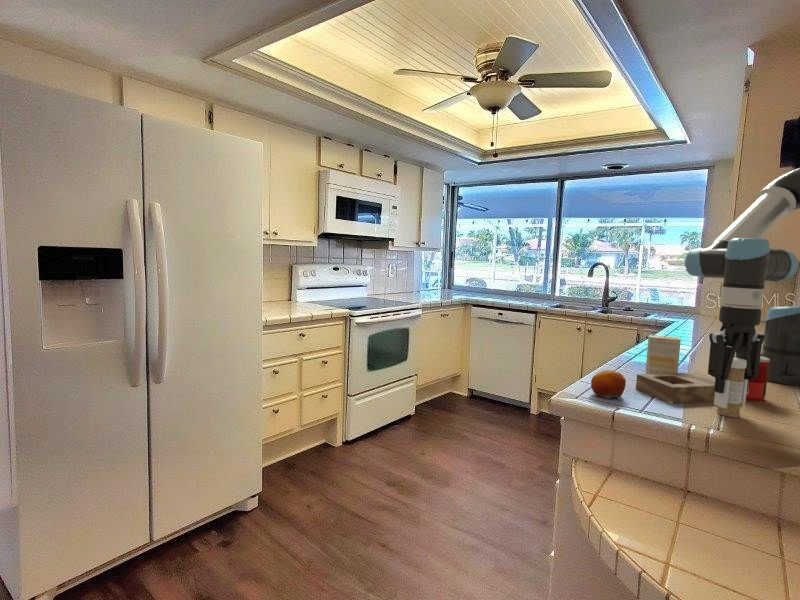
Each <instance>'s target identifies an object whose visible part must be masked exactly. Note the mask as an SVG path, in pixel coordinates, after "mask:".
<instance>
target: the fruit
mask: <svg viewBox="0 0 800 600" xmlns="http://www.w3.org/2000/svg"><path fill="white" fill-rule="evenodd" d="M626 382H627V380H626V378H625V377H624V375H623V374H622V373H620V372H619V371H616V370H610V369H609V370H608V369H607V370H603V371H599V372H597V373H595V374H594V375H593V376H592V378H591V380H590V383H591V385H590V388H591V389H592V392H593V393H594V394H595V395H596V396H597V397H599V398H605V399H608V400H610V399H611V398H620V399H621V400H622V401H624V398H623V397H622V395H623V393H624V391H625V389H626Z"/></svg>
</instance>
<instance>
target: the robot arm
mask: <svg viewBox="0 0 800 600" xmlns="http://www.w3.org/2000/svg"><path fill="white" fill-rule="evenodd" d="M795 210H800V167H798V168H795V169H793V170H790V171H788V172H786V173H784V174H782V175H781V176H779V177H778V178H776V179H774V180H773V181H771V182H770V183H768V184H767V185H766V186H764V187H763V188H762V189H761V190H760V191H759V192H758V193H757V194H756V197H755V200H754V202H753V203H752V204H751V205H750V206H749V207H748V208H746V210H745V211H744V212H742V214H740V215H739V216H738V217H737V218H736V219H735V220H734V221H733V222H732V223H731V224H730V225H729V226H728V227H727V228H726V229H725V230H724V231H723V232H722V233H720V234H719V235H718V236H717V237H716V238H715V239H714V240H713V241H712V242H711V243H710V244H709V245H708V246H707V247H706V248H703V247H698V248H693V249H691V250H689V252H688V253H687V254H686V255H685V256H686V257H685V260H684V266H685V270H686V272H687V274H688V275H689V276H692V277H701V278H702V277H703V278H712V279H713V278H714V279H723V283H722V288H721V294H720V303H721V304H722V305H721V306H720V307H719V315H718V321H719V322H721V327H720V329H719V331H718V332H716V333H713V332H710V333H709V334H708V335H709V336H708V337H709V343H710V345H709V357H708V367H707V375H708V376H710V377H713V378H715V386H714V391H715V397H714V401H713V405H715V406H717V407H718V406H719V407H722V408H727V405H728V396H729V388H730V380H727V378H728V375H729V371H730V368H731V365H732V361H733V358H734V355H735V353H736V357H737V358H742V359H745V360H746V361H747V365H746V368H745V373H744V385H743V393H742V401H741V405H740V408H745V407H746V401H747V400H746V393H747V391H748V384H749V379H750V380H754V379H755V377H753V376H757V375H758V370H759V362H760V356H763V357H767V358H769V359H770V363H769V372H768V380H767V382H768V381H769V382H774V383H778V384H783V385H784V384H785V385H791V386H800V306H796V305H795V306H772V307H770V308H769V309H767V313H766V317H765V319H764V323H765V324H764V333H763V334H762V333H758V332H756V326H759V325H760V324H761V317H762V310H761V308H759V307H762V306H763V300H764V299H763V297H764V289H765V284H766V282H781V281H785V280H788V279H790V278H792V277H793V276H794V275H796V273H797V272H798V269H799V265H800V264H799V259H798V257H797V256H796V255H795V254H794V253H793V252H791V251H789V250H785V249H783V248H770V241H769V239H767V238H764V237H763V236H764V235H765V234H766V233H767V232H768V231H769V230H770V229H771V228H772V227H773V226H774V225H775V224H776V223H777V222H778V221H779V220H780V219H781V218H782V217H786V216H789V215H791V214H792V213H793V212H794V211H795ZM762 237H763V238H762ZM751 369H752V370H751Z"/></svg>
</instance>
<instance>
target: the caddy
mask: <svg viewBox="0 0 800 600" xmlns="http://www.w3.org/2000/svg"><path fill="white" fill-rule="evenodd" d="M635 381H636V382H635V390H638V391H640V392H644V393H646V394H648V395H650V394H651V396H653V395H654V396H653V397H655V396H656V397H655V398H658V397H659V398H658V399H660V398H662V399H661V400H663V399H664V400H663V401H665V400H667V401H666V402H668V401H670V402H681V403H682V402H683V403H698V402H697V401H703V402H714V397H715V391H714V386H715V377H712V376H710V375H707V374H702V373H699V372H678V373H666V374H645V373H644V374H643V373H642V374H641V373H640V374H637V373H636V380H635ZM670 402H669V403H670Z"/></svg>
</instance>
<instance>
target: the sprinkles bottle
mask: <svg viewBox="0 0 800 600" xmlns="http://www.w3.org/2000/svg"><path fill="white" fill-rule="evenodd" d="M746 365H747V361H746V360H745V359H742V358H737V357H734V358H733V361H732V365H731V368H730V371H729V375H728V378H727V380H730V388H729V396H728V405H727V408H722V407H719V406H717V408H716V413H717V414H719V415H721V416H725V417H728V418H739V417H740V416H741V407H740V405H741V401H742V393H743V385H744V373H745V368H746Z"/></svg>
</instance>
